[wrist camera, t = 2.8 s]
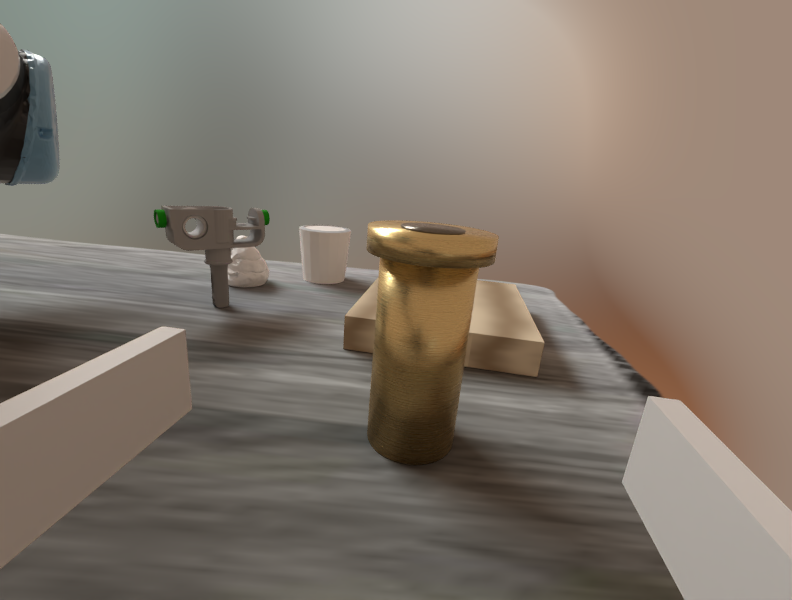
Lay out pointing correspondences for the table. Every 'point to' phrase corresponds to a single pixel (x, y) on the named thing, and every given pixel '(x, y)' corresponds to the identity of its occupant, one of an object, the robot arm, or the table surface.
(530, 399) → the table surface
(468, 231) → the brass sleeve
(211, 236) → the mechanical component
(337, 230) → the white cup
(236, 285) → the garlic bulb
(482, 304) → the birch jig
